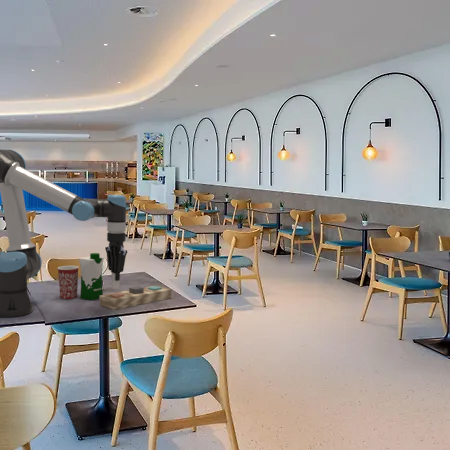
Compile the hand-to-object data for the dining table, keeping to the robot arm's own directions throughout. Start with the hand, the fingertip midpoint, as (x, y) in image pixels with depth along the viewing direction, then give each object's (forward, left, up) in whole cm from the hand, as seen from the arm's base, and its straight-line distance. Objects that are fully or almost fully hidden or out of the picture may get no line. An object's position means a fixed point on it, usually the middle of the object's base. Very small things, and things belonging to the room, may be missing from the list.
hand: (115, 287), depth 233 cm
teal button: (+19, -7, -6) cm, 21 cm away
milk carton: (+6, +17, -8) cm, 20 cm away
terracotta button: (0, -1, -6) cm, 6 cm away
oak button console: (+10, -4, -8) cm, 13 cm away
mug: (+4, +27, -8) cm, 28 cm away
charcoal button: (+10, -4, -5) cm, 11 cm away
